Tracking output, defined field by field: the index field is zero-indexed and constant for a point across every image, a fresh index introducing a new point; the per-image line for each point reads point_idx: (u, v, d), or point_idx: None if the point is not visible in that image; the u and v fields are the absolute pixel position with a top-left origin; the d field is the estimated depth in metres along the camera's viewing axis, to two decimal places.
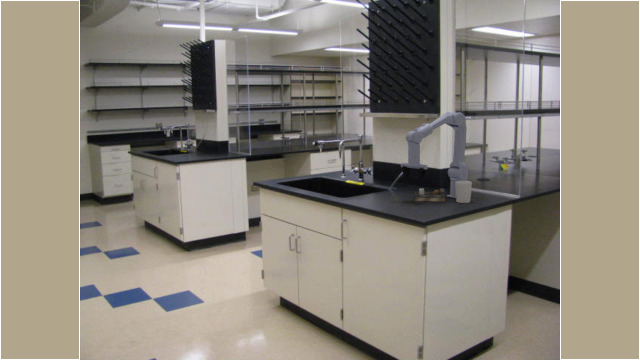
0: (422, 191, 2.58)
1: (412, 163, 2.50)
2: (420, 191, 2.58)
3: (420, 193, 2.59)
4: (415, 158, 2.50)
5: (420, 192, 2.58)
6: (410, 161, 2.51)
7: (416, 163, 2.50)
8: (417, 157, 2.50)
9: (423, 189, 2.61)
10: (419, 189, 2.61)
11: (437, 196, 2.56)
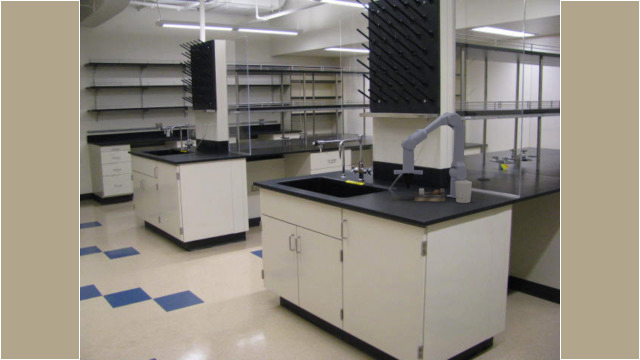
0: (422, 191, 2.58)
1: (410, 169, 2.58)
2: (420, 191, 2.58)
3: (420, 193, 2.59)
4: (412, 164, 2.58)
5: (420, 192, 2.58)
6: (408, 168, 2.58)
7: (413, 169, 2.59)
8: (413, 163, 2.59)
9: (423, 189, 2.61)
10: (419, 189, 2.61)
11: (437, 196, 2.56)
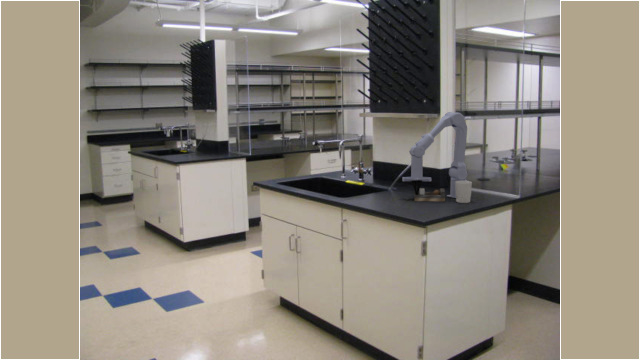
0: (422, 191, 2.58)
1: (418, 176, 2.58)
2: (420, 191, 2.58)
3: (420, 193, 2.59)
4: (420, 171, 2.58)
5: (420, 192, 2.58)
6: (416, 175, 2.58)
7: (421, 176, 2.59)
8: (422, 170, 2.59)
9: (423, 189, 2.61)
10: None
11: (437, 196, 2.56)
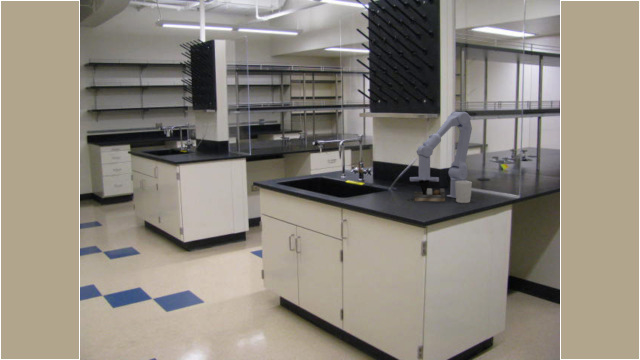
0: (430, 191, 2.58)
1: (426, 176, 2.57)
2: (428, 191, 2.58)
3: (428, 193, 2.58)
4: (428, 171, 2.57)
5: (428, 192, 2.58)
6: (424, 175, 2.57)
7: (429, 176, 2.58)
8: (429, 170, 2.58)
9: (431, 189, 2.60)
10: (427, 189, 2.60)
11: (437, 196, 2.56)
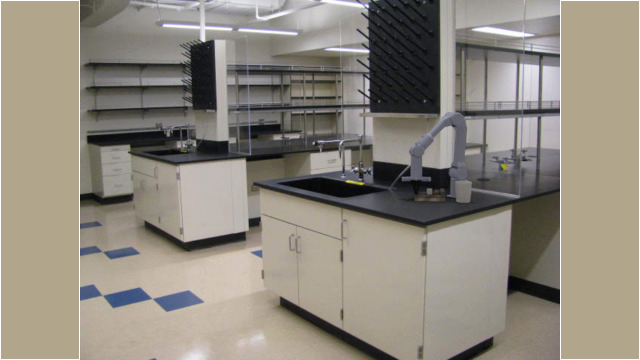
0: (430, 191, 2.58)
1: (418, 176, 2.58)
2: (428, 191, 2.58)
3: (428, 193, 2.58)
4: (420, 171, 2.58)
5: (428, 192, 2.58)
6: (416, 174, 2.58)
7: (421, 176, 2.59)
8: (421, 170, 2.59)
9: (431, 189, 2.60)
10: (427, 189, 2.60)
11: (437, 196, 2.56)
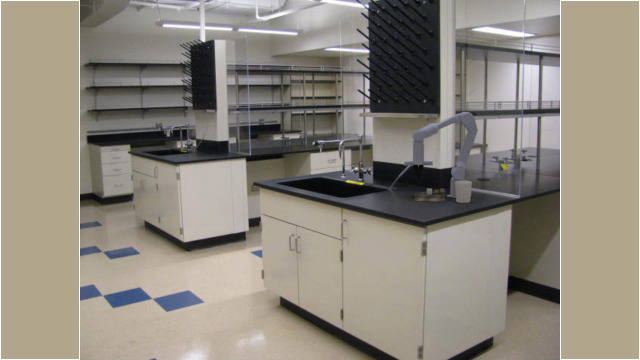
0: (430, 191, 2.58)
1: (420, 160, 2.64)
2: (428, 191, 2.58)
3: (428, 193, 2.58)
4: (422, 155, 2.64)
5: (428, 192, 2.58)
6: (418, 159, 2.64)
7: (423, 160, 2.65)
8: (423, 154, 2.65)
9: (431, 189, 2.60)
10: (427, 189, 2.60)
11: (437, 196, 2.56)
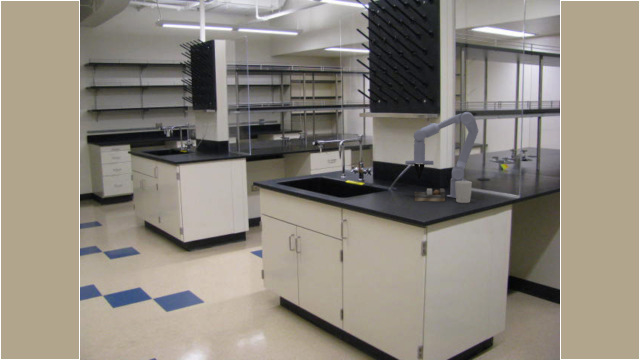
0: (430, 191, 2.58)
1: (421, 160, 2.66)
2: (428, 191, 2.58)
3: (428, 193, 2.58)
4: (423, 155, 2.66)
5: (428, 192, 2.58)
6: (419, 158, 2.66)
7: (424, 160, 2.67)
8: (424, 154, 2.67)
9: (431, 189, 2.60)
10: (427, 189, 2.60)
11: (437, 196, 2.56)
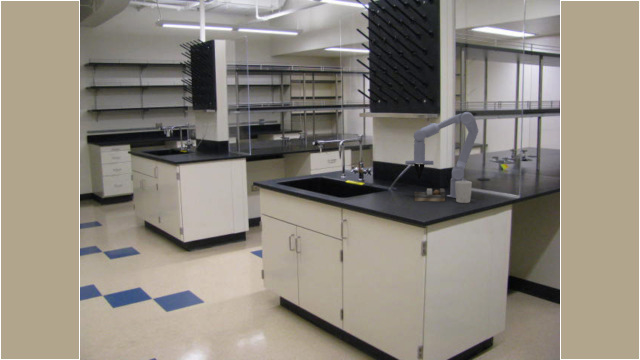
0: (430, 191, 2.58)
1: (421, 160, 2.66)
2: (428, 191, 2.58)
3: (428, 193, 2.58)
4: (423, 155, 2.66)
5: (428, 192, 2.58)
6: (419, 158, 2.66)
7: (424, 160, 2.67)
8: (424, 154, 2.67)
9: (431, 189, 2.60)
10: (427, 189, 2.60)
11: (437, 196, 2.56)
